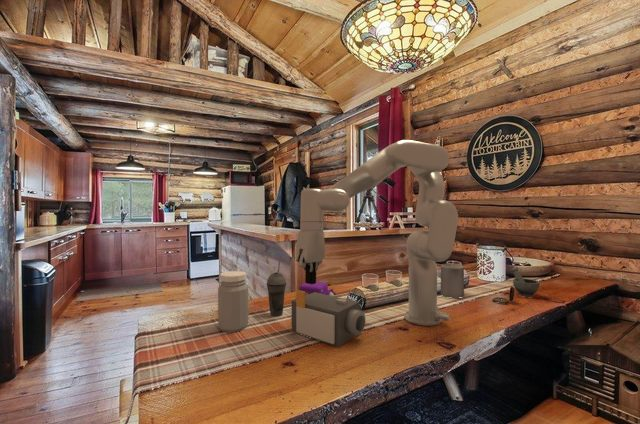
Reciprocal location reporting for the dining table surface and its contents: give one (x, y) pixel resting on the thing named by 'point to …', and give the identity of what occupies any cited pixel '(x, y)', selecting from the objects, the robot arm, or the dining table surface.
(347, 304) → the camera body
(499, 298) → the compass
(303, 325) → the door
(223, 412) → the dining table surface
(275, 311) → the beverage cup
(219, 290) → the jar
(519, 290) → the mortar and pestle
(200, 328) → the dining table surface
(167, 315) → the dining table surface
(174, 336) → the dining table surface
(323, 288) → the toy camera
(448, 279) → the grey canister
